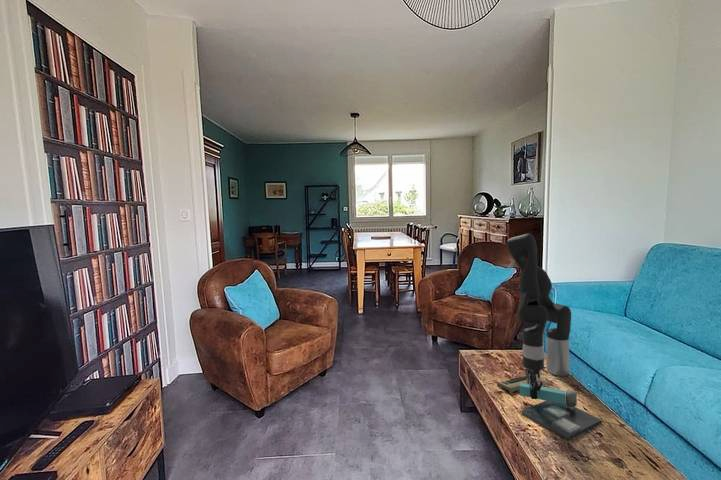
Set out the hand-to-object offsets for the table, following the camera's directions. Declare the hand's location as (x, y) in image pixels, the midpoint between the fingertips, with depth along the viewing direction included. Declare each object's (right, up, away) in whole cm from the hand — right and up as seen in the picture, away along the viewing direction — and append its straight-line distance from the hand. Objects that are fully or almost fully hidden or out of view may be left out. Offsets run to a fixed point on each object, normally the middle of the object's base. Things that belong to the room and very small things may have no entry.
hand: (533, 398), depth 133 cm
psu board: (+7, -4, -7) cm, 10 cm away
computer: (+2, -4, +18) cm, 18 cm away
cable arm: (+6, -1, +1) cm, 6 cm away
